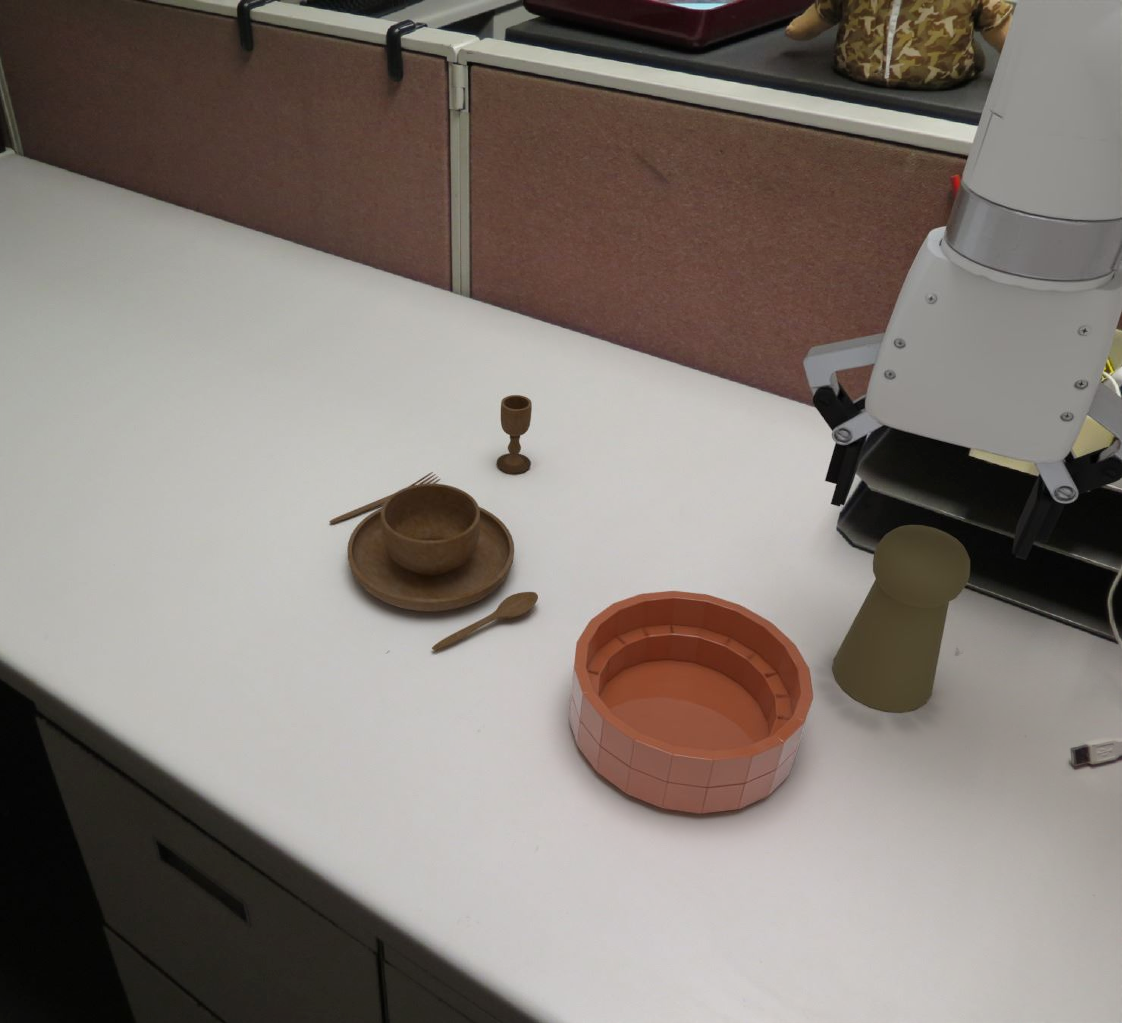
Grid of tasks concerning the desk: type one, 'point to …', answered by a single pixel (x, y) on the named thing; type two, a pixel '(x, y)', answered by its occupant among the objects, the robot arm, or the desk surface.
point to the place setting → (441, 542)
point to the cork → (902, 619)
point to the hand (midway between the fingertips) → (928, 518)
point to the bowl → (688, 701)
